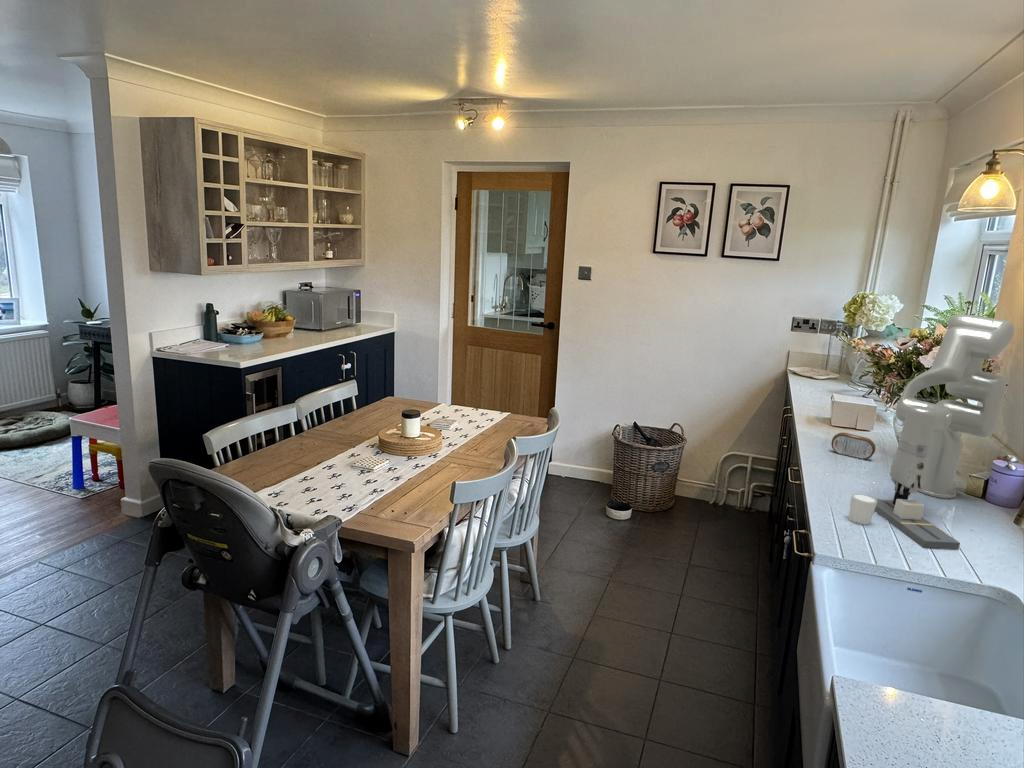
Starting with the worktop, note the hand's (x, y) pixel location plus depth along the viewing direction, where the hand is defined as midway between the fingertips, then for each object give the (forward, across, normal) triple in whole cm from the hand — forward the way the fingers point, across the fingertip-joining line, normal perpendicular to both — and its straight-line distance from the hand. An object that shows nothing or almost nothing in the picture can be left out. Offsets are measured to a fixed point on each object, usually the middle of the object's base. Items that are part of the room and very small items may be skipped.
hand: (899, 505), depth 204 cm
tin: (+4, +55, -17) cm, 58 cm away
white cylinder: (+4, -4, +14) cm, 15 cm away
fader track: (+4, -6, 0) cm, 7 cm away
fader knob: (+2, -4, 0) cm, 4 cm away
